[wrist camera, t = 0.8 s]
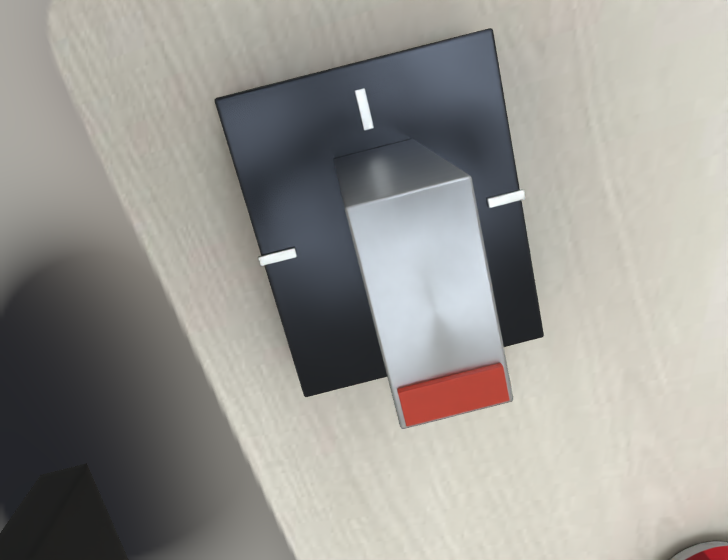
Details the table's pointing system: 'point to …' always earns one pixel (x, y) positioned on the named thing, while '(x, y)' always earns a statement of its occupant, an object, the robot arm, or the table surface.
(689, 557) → the soda can
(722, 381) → the table surface
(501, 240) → the panel
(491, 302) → the knob
